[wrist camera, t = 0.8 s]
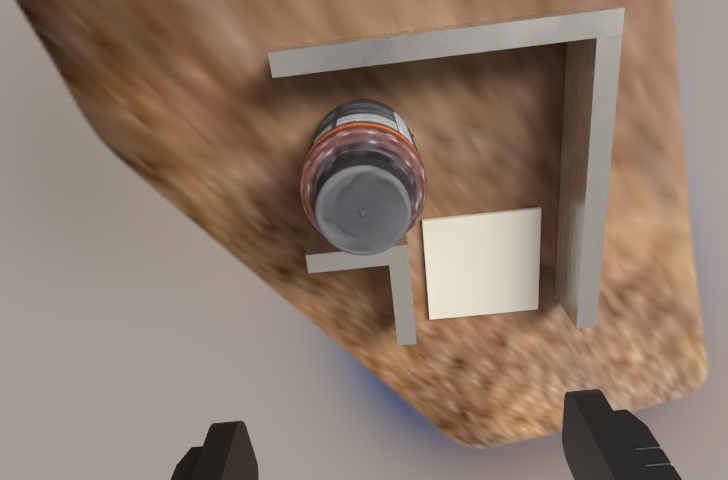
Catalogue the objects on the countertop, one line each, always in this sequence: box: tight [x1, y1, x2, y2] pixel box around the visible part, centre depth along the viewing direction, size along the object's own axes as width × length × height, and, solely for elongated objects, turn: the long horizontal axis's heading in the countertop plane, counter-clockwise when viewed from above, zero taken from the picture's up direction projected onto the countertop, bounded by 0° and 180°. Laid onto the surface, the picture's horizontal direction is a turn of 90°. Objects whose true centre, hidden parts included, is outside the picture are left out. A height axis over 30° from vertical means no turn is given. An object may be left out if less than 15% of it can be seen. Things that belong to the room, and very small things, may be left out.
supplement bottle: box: [300, 100, 427, 256], centre depth 25 cm, size 6×6×11 cm
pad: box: [422, 207, 541, 320], centre depth 34 cm, size 8×8×1 cm
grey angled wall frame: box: [268, 8, 625, 345], centre depth 30 cm, size 18×17×4 cm
